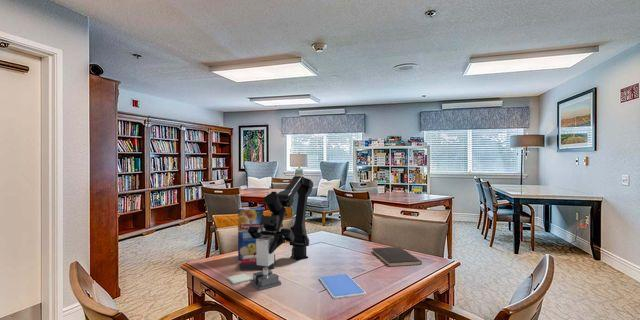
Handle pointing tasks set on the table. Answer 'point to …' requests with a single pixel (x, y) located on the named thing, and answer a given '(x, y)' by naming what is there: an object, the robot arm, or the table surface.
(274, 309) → the table surface
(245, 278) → the pad
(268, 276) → the vise
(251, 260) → the calculator
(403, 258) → the hardcover book
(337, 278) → the tablet computer
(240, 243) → the blue food box
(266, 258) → the grey stepped block
